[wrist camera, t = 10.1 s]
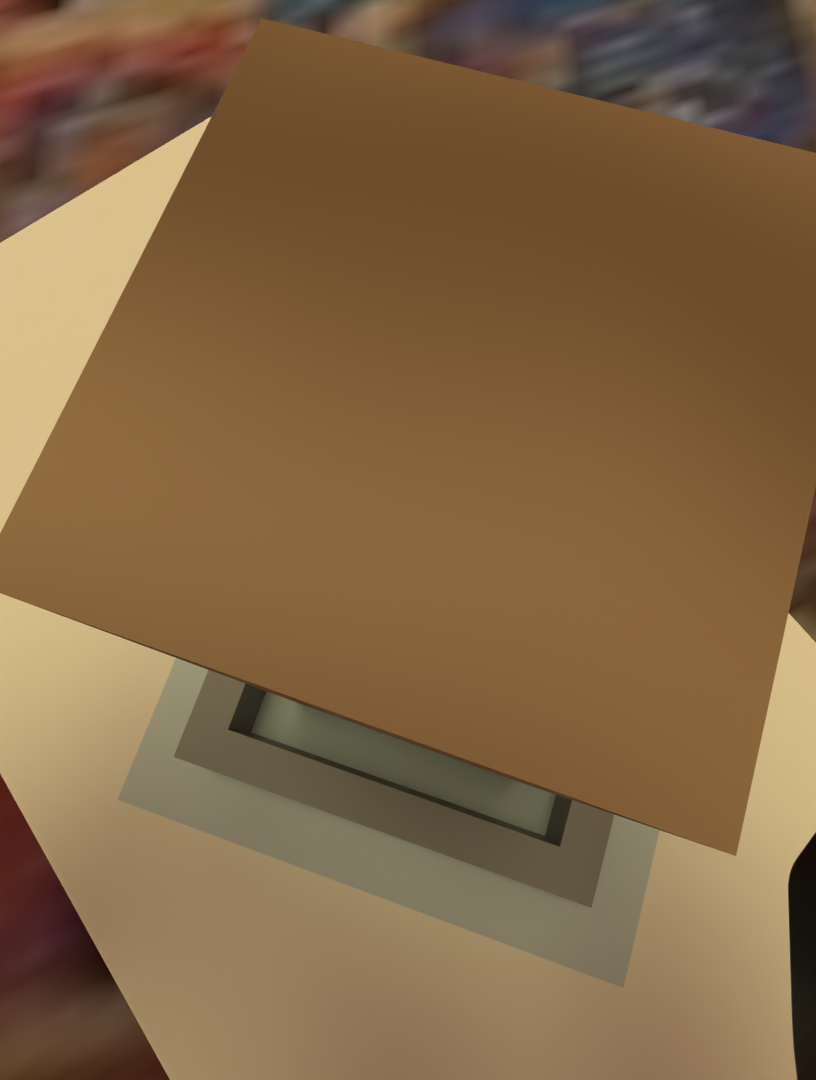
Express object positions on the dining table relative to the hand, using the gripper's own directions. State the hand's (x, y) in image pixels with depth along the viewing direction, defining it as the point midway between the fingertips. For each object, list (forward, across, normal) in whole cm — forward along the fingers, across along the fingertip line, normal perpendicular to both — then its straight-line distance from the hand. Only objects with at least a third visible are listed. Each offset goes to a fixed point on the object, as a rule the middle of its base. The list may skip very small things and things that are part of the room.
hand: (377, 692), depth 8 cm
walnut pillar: (+8, 0, +5) cm, 9 cm away
